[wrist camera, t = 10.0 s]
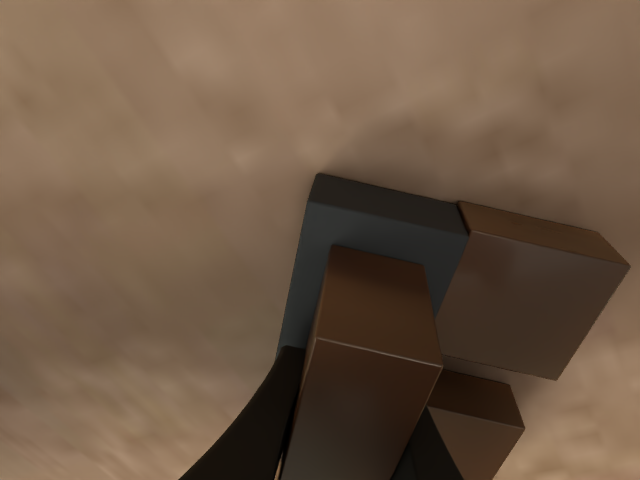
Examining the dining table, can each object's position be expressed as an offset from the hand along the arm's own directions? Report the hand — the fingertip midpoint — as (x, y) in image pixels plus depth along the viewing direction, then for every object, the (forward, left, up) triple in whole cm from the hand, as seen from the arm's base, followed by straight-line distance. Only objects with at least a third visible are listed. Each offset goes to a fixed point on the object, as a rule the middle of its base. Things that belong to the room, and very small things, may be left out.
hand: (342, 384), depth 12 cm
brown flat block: (+4, +3, -3) cm, 6 cm away
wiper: (0, 0, -3) cm, 3 cm away
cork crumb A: (+4, -3, -3) cm, 6 cm away
